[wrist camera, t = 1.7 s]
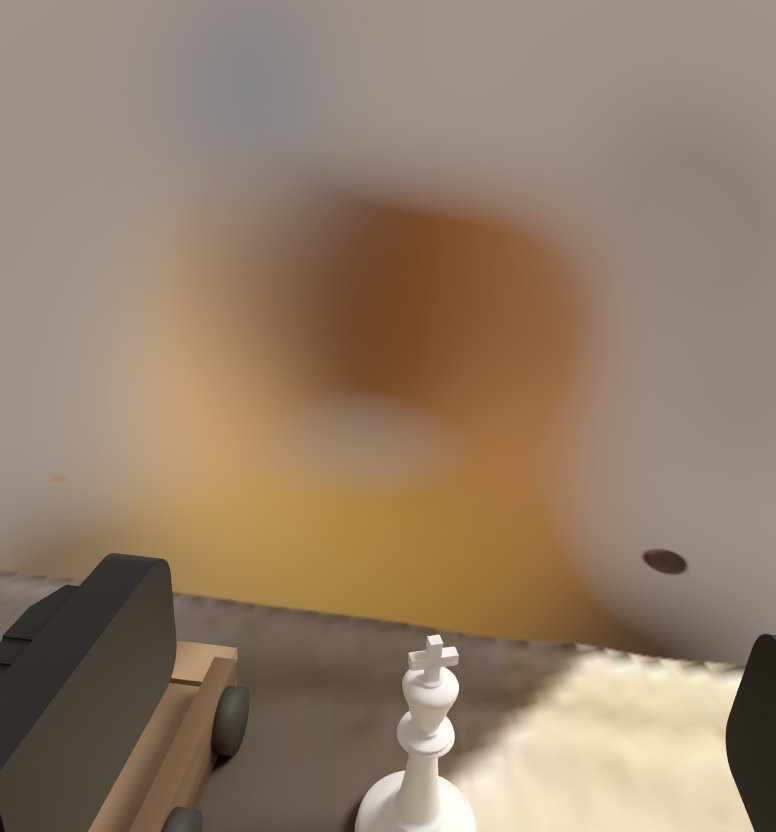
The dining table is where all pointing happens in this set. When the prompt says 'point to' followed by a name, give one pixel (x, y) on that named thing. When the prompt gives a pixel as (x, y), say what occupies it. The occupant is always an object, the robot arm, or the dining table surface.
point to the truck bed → (180, 745)
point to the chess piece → (421, 755)
